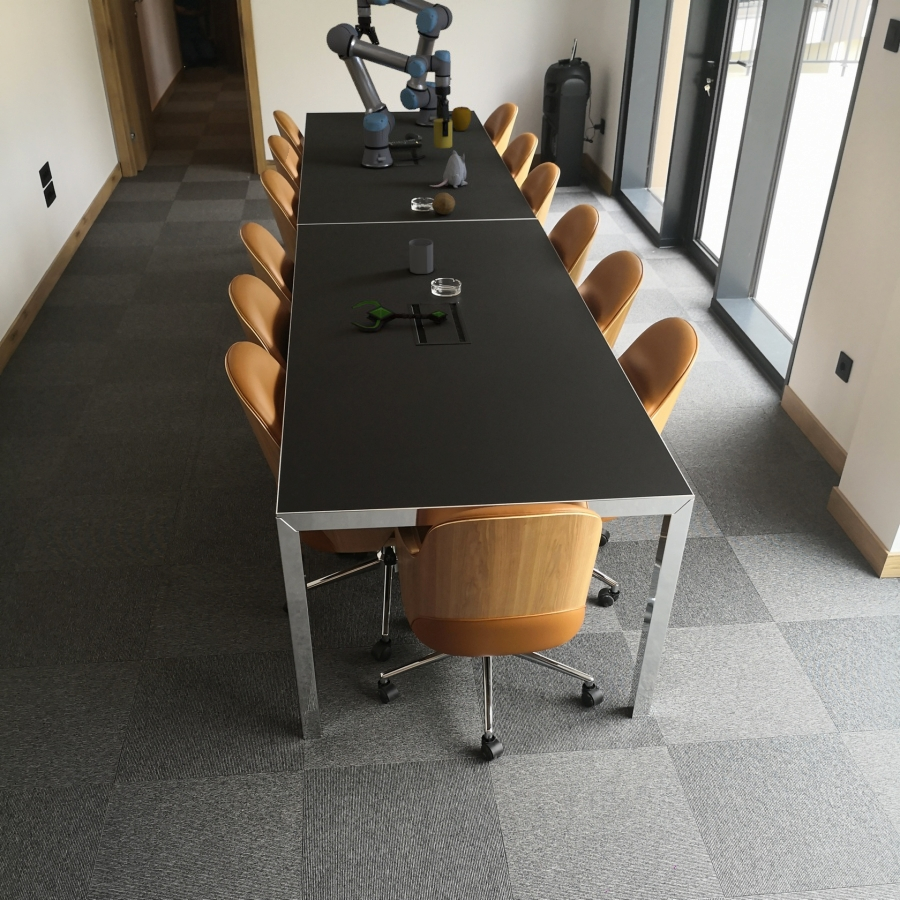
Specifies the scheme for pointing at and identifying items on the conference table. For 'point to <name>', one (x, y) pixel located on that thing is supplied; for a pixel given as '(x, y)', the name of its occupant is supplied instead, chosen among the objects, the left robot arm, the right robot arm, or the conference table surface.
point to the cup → (421, 256)
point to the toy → (454, 171)
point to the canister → (442, 134)
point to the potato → (443, 203)
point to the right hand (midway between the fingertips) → (366, 57)
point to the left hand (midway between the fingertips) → (442, 134)
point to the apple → (461, 118)
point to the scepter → (393, 315)
